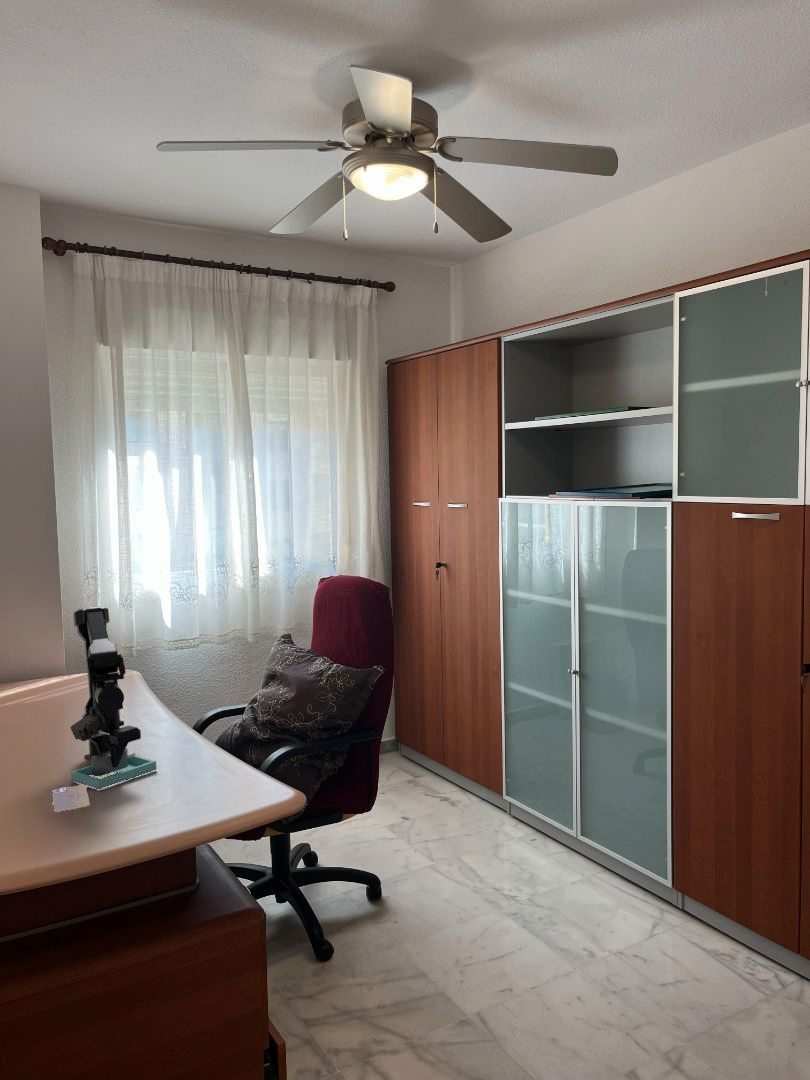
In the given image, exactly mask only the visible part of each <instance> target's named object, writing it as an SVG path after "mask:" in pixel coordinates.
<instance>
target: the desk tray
mask: <svg viewBox="0 0 810 1080" xmlns="http://www.w3.org/2000/svg"><path fill="white" fill-rule="evenodd" d="M156 769H157V761H156V760H154V759H150V758H146V757H143V756H140V755H137V754H135V756H133V757H130V758H128V767H126V768H123V769H120V770H117V771H114V773H116V774H113V775H110V774H109V773H108V774H109V775H110V776H108V775H107V777H104V778H102V779H98V778H94V777H95V776H94V777H91V776H89V775H92V766H91V765H88V766H85V767H82V768H79V769H75V770H72V771H70V773H71V774H70V775H71V777H70V778H71V782H72V781H75V782H78V783H81V784H84V785H88V786H91V787H94V788H96V789H101V788H103V787H106V786H109V785H112V784H115V783H118V782H121V781H124V780H128V779H130V778H134V777H136V776H139V775H142V774H145V773H148V772H151V771H153V770H156ZM157 770H158V769H157ZM118 772H119V773H118ZM101 776H102V775H101ZM101 776H100V777H101Z"/></svg>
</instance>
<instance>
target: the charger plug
mask: <svg viewBox="0 0 810 1080" xmlns="http://www.w3.org/2000/svg"><path fill="white" fill-rule="evenodd" d="M135 755H136V752H135V751H134V752H133V751H130V752H128V748H127V747H126V748H125V751H124V753H123V755H122V758H121V760H120V762H119V765H118V767H115V768H114V767H113V765H112V761H111V755H110V751H107V752H103V753H100V754H97V755H94V756H92V757H91V759H90V763H91V765H90V766H92V775H94V776H101V775H105V774H108V773H111V772H114V771H117V770H120V769H123V768H126V767H128V758H130V757H133V756H135Z"/></svg>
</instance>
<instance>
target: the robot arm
mask: <svg viewBox="0 0 810 1080" xmlns="http://www.w3.org/2000/svg"><path fill="white" fill-rule="evenodd" d="M109 611H110V610H109V608H107V607H104V606H101V605H99V606H97V605H96V606H88V607H87V606H86V607H85V608H78V609H77V610H76V611H74V612H73V616H72V617H73V625H74V627H75V628H76V630H77V635H78V636H79V637H80V638H81V640H82V641H83V642H84V650H85V665H86V666H85V667H86V672H87V681H88V683H87V684H88V691H89V692H88V695H89V698H88V700H87V702H86V704H85V706H84V708H83V709H84V713H83V714H82V715H81V719H80V720H78V721H76V722H75V723H74V724H72V725H70V727H69V728H70V731H71V732H72V735H73V737H74V738H75V740H80V741H81V742H86V741H88V749H89V750H88V751H89V753H87V754H85V755H83V756H84V758H85V759H89V760H91V757H92V756H94V755H97V754H100V753H103V752H107V751H110V755H111V761H112V765H113V767H114V768H115V767H118V765H119V762H120V760H121V758H122V755H123V753H124V751H125V748H127V746H128V745H129V743H131V742H135V741H138V740H140V739H142V732H141V731H142V730H141V729H140V728H138V727H136V726H133V725H126V726H125V721H124V720H121V713H120V712H121V711H120V710H123V709H124V704H123V703H124V701H125V695H124V692H123V691H122V689H121V687H120V686H119V682H118V680H123V679H125V675H126V672H127V671H126V667H125V661H124V657H123V656H122V653H120V652H118V649H117V646H116V644H115V643H113V642H112V641H110V639H109V634H108V631H107V628H108V627H107V624H109V623H110V612H109ZM118 671H119V672H118Z"/></svg>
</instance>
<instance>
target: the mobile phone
mask: <svg viewBox="0 0 810 1080" xmlns="http://www.w3.org/2000/svg"><path fill="white" fill-rule="evenodd" d="M76 785H77V784H75V786H76ZM68 789H69V786H64V787H60V788H59V787H58V788H55V789H53V790H52V791H51V793H52V792H53V802H52V806H53V805H54V811H60V810H65V809H68V808H73V807H76V805H75V801H76V800H75V801H74V802H73V803H72V801H73V800H74V799H75V798H76V797H77V801H78V800H79V799H80V798H79V797H80V796H81V795H82V794H81V795H80V793H78V792H77V793H76V794H74V793H75V792H74V793H71V792H70V791H71V790H70V789H69V790H70V791H69V790H68ZM76 791H77V790H76ZM67 792H68V793H67ZM84 794H85V793H84ZM76 795H77V796H76ZM74 796H76V797H74ZM72 797H73V798H72ZM84 797H85V796H84ZM69 798H70V799H69ZM70 801H71V804H70ZM83 805H84V804H83ZM77 806H78V803H77Z"/></svg>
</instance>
